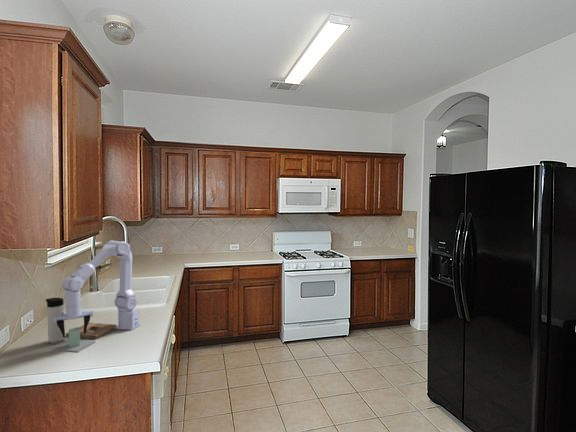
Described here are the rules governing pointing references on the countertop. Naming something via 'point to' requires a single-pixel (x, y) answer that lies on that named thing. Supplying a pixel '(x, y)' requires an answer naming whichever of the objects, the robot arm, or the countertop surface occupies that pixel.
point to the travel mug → (53, 309)
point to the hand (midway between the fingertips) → (74, 334)
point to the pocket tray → (99, 330)
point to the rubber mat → (77, 348)
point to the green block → (74, 337)
